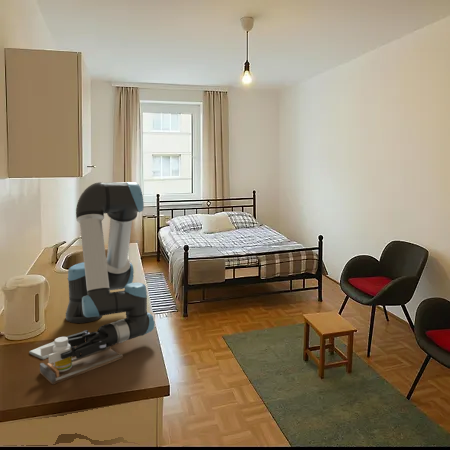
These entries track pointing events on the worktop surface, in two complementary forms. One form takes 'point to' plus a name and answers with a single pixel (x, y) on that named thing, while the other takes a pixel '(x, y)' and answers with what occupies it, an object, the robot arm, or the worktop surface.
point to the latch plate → (53, 369)
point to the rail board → (82, 365)
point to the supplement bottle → (60, 345)
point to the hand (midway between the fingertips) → (45, 355)
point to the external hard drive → (37, 351)
